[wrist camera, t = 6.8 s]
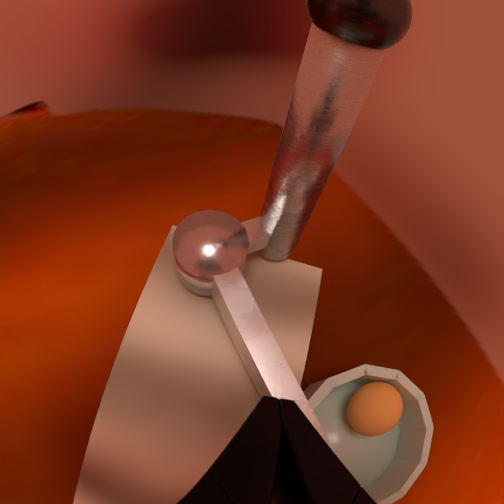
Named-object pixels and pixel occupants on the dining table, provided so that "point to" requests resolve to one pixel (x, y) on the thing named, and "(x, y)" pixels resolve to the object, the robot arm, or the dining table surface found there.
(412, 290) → the dining table surface
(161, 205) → the dining table surface
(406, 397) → the small white bowl
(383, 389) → the ball
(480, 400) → the dining table surface
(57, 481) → the dining table surface
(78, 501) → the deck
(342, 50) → the lever
